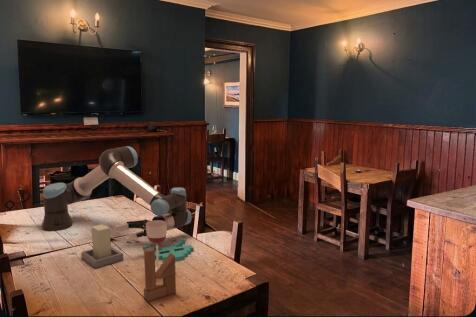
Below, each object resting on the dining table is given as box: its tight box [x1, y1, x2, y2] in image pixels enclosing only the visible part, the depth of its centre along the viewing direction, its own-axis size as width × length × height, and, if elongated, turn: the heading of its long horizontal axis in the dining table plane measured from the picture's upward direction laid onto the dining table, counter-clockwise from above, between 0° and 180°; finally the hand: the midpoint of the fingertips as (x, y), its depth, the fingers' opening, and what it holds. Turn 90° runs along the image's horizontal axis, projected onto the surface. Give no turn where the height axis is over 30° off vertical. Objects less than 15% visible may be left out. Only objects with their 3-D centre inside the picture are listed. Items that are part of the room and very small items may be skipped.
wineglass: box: [146, 220, 168, 273], centre depth 155 cm, size 8×9×20 cm
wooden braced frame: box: [143, 248, 177, 302], centre depth 136 cm, size 4×11×18 cm, turn 126°
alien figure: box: [142, 238, 195, 262], centre depth 175 cm, size 20×2×20 cm
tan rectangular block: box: [91, 224, 112, 260], centre depth 167 cm, size 7×5×14 cm
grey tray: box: [80, 246, 124, 270], centre depth 168 cm, size 14×12×3 cm
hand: (121, 233), depth 173 cm, fingers open, 13 cm apart
